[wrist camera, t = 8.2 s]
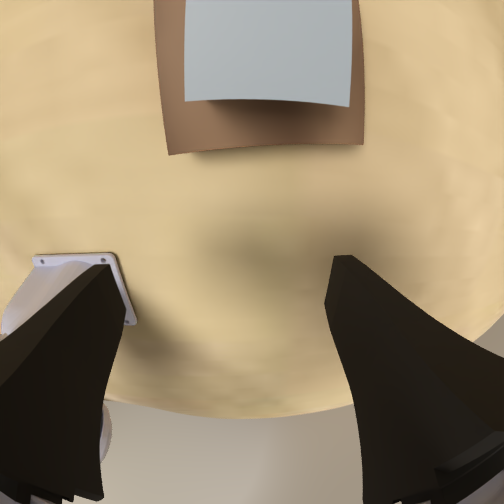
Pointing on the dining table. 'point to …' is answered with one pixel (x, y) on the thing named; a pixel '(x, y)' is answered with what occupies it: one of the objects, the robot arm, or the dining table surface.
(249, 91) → the gray cube
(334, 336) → the robot arm
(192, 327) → the dining table surface
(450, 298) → the dining table surface
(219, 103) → the walnut block
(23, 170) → the dining table surface
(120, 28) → the dining table surface
